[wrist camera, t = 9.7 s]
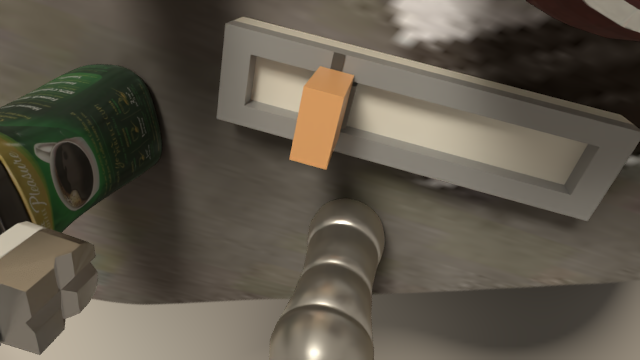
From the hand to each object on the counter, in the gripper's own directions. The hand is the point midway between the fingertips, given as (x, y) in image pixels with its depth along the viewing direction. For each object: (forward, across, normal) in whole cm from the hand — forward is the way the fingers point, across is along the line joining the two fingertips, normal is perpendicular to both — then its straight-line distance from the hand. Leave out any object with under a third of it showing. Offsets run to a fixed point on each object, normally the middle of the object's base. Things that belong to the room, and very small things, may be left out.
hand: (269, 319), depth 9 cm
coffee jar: (+25, +21, +11) cm, 34 cm away
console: (+26, -3, +4) cm, 26 cm away
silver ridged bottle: (+26, -1, +15) cm, 30 cm away
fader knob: (+24, +2, +3) cm, 24 cm away
